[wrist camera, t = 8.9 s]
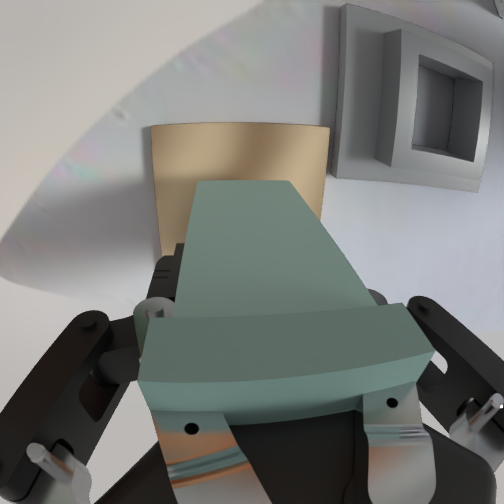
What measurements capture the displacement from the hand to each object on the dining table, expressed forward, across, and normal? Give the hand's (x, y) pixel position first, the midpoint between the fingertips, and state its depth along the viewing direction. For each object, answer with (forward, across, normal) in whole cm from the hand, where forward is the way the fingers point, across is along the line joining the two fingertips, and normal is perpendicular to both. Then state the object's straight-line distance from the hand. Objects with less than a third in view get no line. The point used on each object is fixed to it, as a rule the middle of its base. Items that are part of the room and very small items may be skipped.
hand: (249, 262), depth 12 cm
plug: (+4, 0, 0) cm, 4 cm away
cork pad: (+7, 0, 0) cm, 7 cm away
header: (+7, -12, -7) cm, 16 cm away
